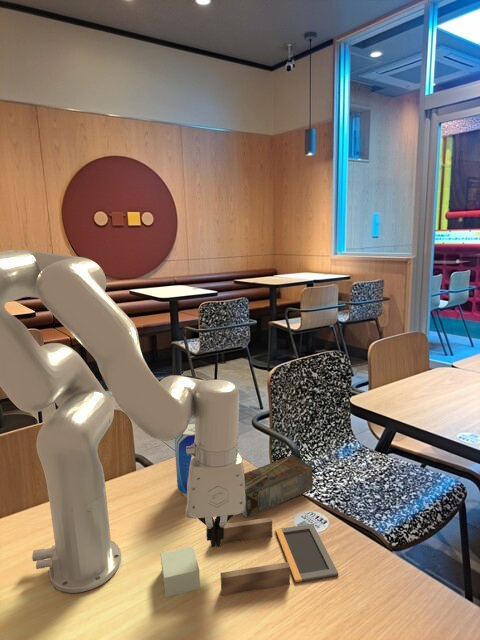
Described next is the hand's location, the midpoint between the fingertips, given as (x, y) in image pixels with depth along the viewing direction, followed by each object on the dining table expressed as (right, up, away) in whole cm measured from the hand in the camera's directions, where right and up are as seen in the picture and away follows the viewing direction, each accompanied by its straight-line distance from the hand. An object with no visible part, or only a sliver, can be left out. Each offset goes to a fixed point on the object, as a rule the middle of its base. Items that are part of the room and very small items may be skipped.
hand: (214, 541), depth 80 cm
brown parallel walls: (+6, -5, +2) cm, 8 cm away
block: (-6, -6, -2) cm, 9 cm away
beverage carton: (+12, -1, +22) cm, 25 cm away
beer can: (-6, 0, +25) cm, 25 cm away
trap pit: (+17, -4, +4) cm, 18 cm away
